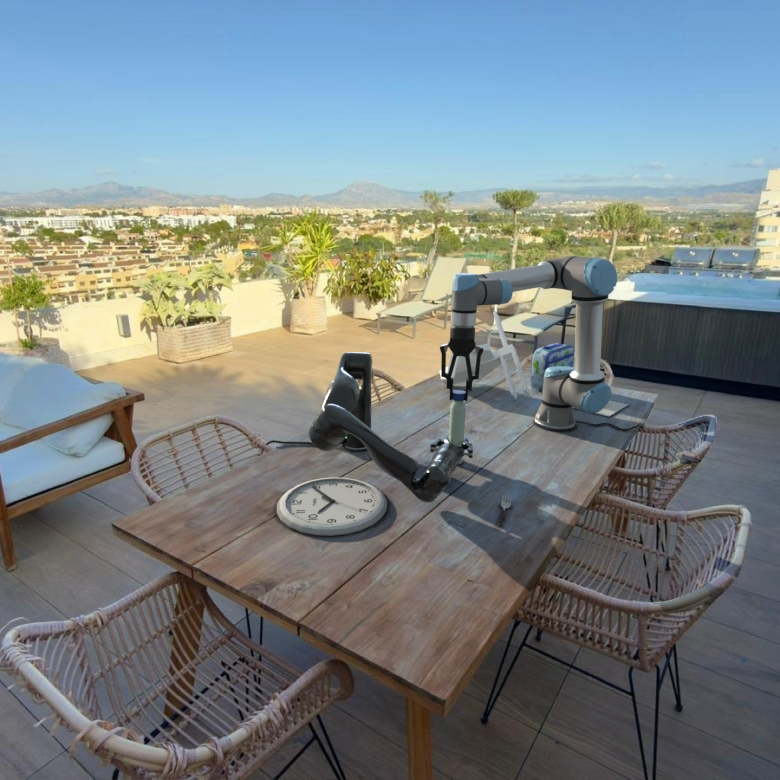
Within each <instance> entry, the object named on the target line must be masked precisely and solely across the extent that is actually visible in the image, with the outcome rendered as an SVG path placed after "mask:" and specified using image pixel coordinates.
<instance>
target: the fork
mask: <svg viewBox="0 0 780 780" xmlns="http://www.w3.org/2000/svg"><path fill="white" fill-rule="evenodd" d="M505 494H506V495H505ZM505 494H502V499H501V501H500V507H501V508H502V510H501V512H500V515H499V519H498V525H497V528H500V526H501V524H502V522H503V521H504V519H505V512H506V509H509V508H510V507H511V506H512V498H513V497H512V496H513V494H510V495H508V497H507V493H505ZM504 498H505V499H504Z"/></svg>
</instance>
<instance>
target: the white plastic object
mask: <svg viewBox="0 0 780 780" xmlns="http://www.w3.org/2000/svg"><path fill="white" fill-rule="evenodd" d="M492 315H493V319H494V321H495V324H496V325H495V326H496V328H497V332H498V335H499V338H500V342H501V345H502V347H500V348H498V349H496V350H495V349H493V348H492V347H491V346H490V344H489V343H488V342H487V343H483V344H479V345H477V346H479V347H483V353H482V355H481V360H480V369H479V378H478V379H475V380H473V382H472V383H473V384H477V383H480V382H482V381H484V378H485V377H486V376H487V375H489V374H490V373H492V372H494V371H495V370H496V369H497V368H499V367H500V366H502V370H503V373H504V376H505V380H506V383H507V386H508V390H509V393H510V394H511V395H512V397H513V398H514V399H515V400H517V392H516V391H517V390H516V388H515V385H514V381H513V378H512V375H511V371H510V369H509V365H508V361H510V360H513V363H514V366H515V369H516V372H517V376H518V380H519V382H520V385H521V389H522V391H523V393H524V395H525V396H526V397H528V396H531V395H530V390H529V388H528V387H529V386H528V384H527V381H526V378H525V375H524V371H523V369H522V368H523V367H522V366H521V362H520V359H519V355H518V352H517V349H516V347H515V346H514V345H513V343H511V344H508V341H507V337H506V334H505V331H504V328H503V325H502V321H501V318H500V315H499V314H498V312H497V311H496V310H495V311H492ZM469 355H470V362H471V369H472V375H475V368H476V359H477V353H476V349H474V350H473V351H472V352H471V353H470V354H469ZM452 357H453V353H452V351H451V353H450V357H449V362H448V366H446V373H447V374H448V372H449V368H450V365H451V361H452ZM438 372H439V376H440V381H442V383H443V384H444V385H445V386H447V379H446V378H444V377H442V376H441V369H440V370H439V371H438ZM451 378H453V385H458V384H466V379H469V378H468V372H467V365H466V360H465V357H463V356H457V358H456V361H455V365H454V369H453V372H452V376H451Z"/></svg>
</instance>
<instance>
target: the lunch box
mask: <svg viewBox="0 0 780 780" xmlns="http://www.w3.org/2000/svg"><path fill="white" fill-rule="evenodd" d="M574 362H575V346H574V345H573V344H564V343H559V342H556V343H551V344H548V345H544V346H542V347H540V348H537V349H536V350H534V353H533V355H532V359H531V366H530V367H531V369H530V387H531V388H532V389H535V390H541V391H542V390H543V379H544V375H545V370H546V369H547V368H549V367H555V366H567V367H574Z"/></svg>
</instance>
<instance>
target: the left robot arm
mask: <svg viewBox="0 0 780 780" xmlns="http://www.w3.org/2000/svg"><path fill="white" fill-rule="evenodd" d="M372 376H373V356H372V354H371V353H369V352H364V351H363V352H361V351H357V352H356V351H346V352H344V353H342V355H341V356H340V358H339V361H338V364H337V368H336V371H335V375H334V377H333V379H332V381H331V382H330V384H329V387H328V388H327V391H326V393H325V397H324V399H323V402H322V405H321V409H320V411H319V413H318V414H317V415H316V417H315V419H314V420H313V421H312V423H311V424H310V426H309V429H308V430H309V431H308V437H309V440H310V441H281V440H277V439H276V440H275V439H274V440H273V439H272V440H270V441H267V442H266V443H265V446H269V445H270V444H272V443H273V444H274V443H275V444H282V445H311V446H314V447H315V448H317V449H318V450H320V451H323V452H331V451H334V450H336V449H338V448H339V447H340V446H341V445H342V448H345V449H346V450H349V451H353V452H354V451H355V452H361V451H367V452H368V454H369V455H370V457H371V459H372V461H373V462H374V464H375V465H376V466H377V467H378V468H379V469H380V470H381V471H382V472H384V474H387V475H389V476H390V477H392V478H394V479H395V480H397V481H399V482H400V483H402V484H403V485H404V486H405V487H406V488H407V489H408V490H409V491H410V493H412V495H413V496H414V497H415V498H417V500H419V501H421V502H422V503H426V504H427V503H428V504H429V503H433V502H435V500H437V498H438V497H439V496H440V495H441V494H442V493H443V492H444V491H445V489H447V488H448V486H449V485H450V483H451V481H452V474H453V473H454V472H455V471H456V469H457V467H458V465H459V464H458V463H459V461H460V459H461V457H463V458H464V457H465V456H467V457H468V458H469V459H473V456H474V447H473V443H471V442H470V440H469V439H468V437H464V441H463V442H462V443H458V444H455V445H454V444H451V443H449V435H447V436H445V438H443V439H442V438H437V439H436V440H434V441H432V442H430V445H429V447H430V448H429V452H430V453H434V454H433V456H432V457H431V461H430V462H429V463H428V465H427V467H426V470H425V471H424V472H423V473H422V475H421V476H419V477H417V476H416V474H417V472H418V470H419V462H418V461H417V460H416V459H415V458H413V457H412V456H410V455H409V454H407V453H405V452H404V451H402V450H400V449H398V448H397V447H395V446H393V445H392V444H391V443H389V442H388V441H386V440H385V439H383V438H382V437H381V436H380V435H379V434H378V433H376V432H375V431H374V430H372V381H373V380H372V379H373V377H372ZM358 381H361V382H360V383H359V382H358Z"/></svg>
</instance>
